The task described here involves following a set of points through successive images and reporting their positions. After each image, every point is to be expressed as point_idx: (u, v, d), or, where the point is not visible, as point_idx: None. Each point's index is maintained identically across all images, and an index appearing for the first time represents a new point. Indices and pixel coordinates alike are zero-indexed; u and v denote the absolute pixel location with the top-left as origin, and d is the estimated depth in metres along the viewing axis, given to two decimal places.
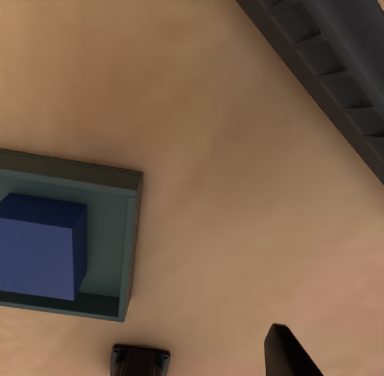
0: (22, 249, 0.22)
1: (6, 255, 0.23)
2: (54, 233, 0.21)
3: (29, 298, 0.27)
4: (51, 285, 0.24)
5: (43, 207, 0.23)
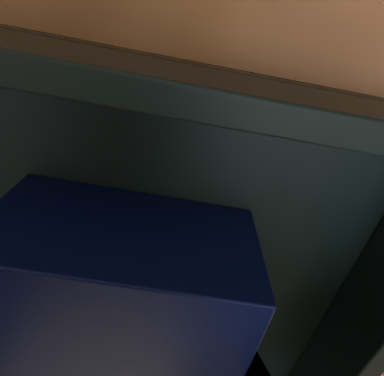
0: (75, 365, 0.06)
1: None
2: (201, 323, 0.06)
3: None
4: None
5: (139, 220, 0.07)
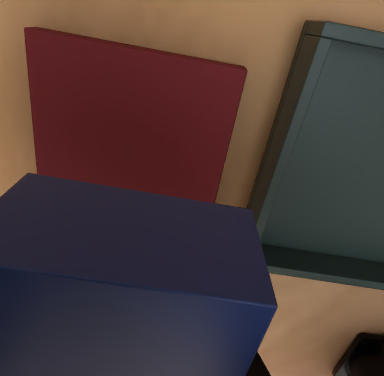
0: (75, 363, 0.06)
1: None
2: (202, 322, 0.06)
3: (321, 267, 0.20)
4: None
5: (140, 219, 0.07)
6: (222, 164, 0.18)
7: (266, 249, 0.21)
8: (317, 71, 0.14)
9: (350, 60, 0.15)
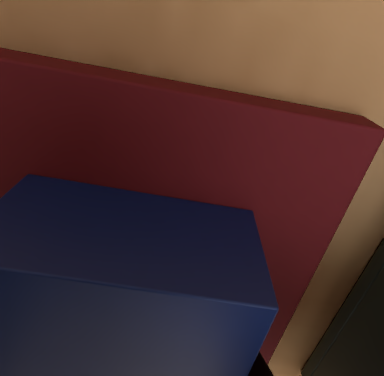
0: (75, 366, 0.06)
1: None
2: (203, 324, 0.06)
3: None
4: None
5: (140, 221, 0.07)
6: (303, 288, 0.10)
7: None
8: None
9: None
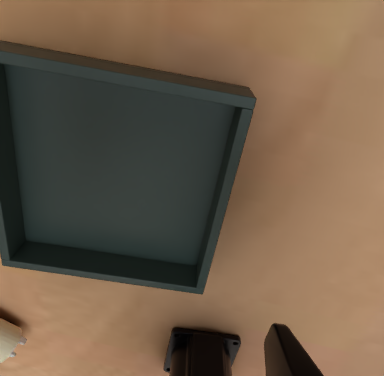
0: None
1: None
2: None
3: (83, 264, 0.22)
4: None
5: None
6: None
7: (39, 247, 0.22)
8: None
9: (43, 75, 0.17)
